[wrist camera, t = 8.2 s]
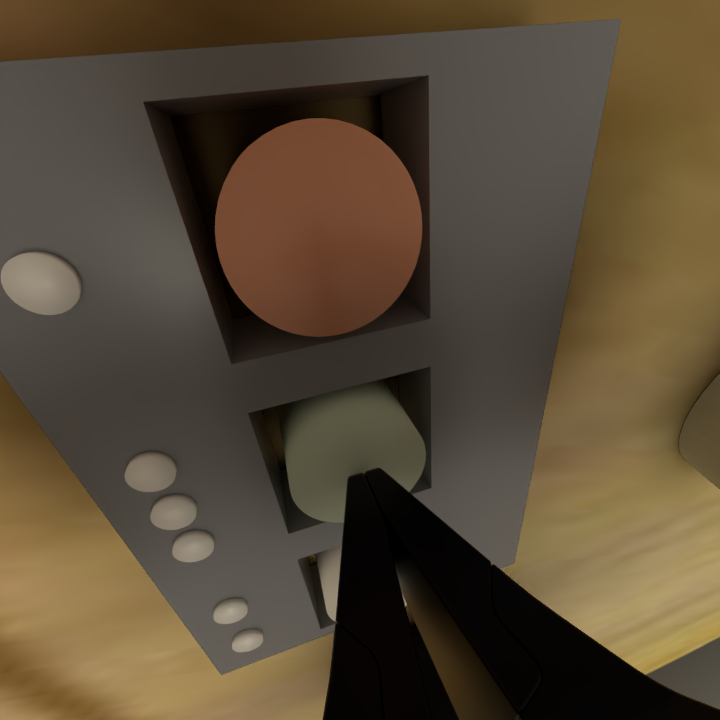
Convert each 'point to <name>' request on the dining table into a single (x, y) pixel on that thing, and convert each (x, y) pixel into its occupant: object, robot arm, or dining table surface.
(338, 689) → the robot arm
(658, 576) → the dining table surface
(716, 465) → the reusable coffee cup
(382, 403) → the button sage
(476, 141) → the button panel
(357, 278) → the button terracotta
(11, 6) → the dining table surface
